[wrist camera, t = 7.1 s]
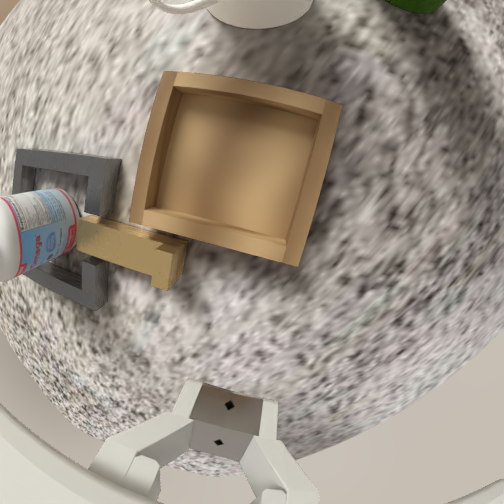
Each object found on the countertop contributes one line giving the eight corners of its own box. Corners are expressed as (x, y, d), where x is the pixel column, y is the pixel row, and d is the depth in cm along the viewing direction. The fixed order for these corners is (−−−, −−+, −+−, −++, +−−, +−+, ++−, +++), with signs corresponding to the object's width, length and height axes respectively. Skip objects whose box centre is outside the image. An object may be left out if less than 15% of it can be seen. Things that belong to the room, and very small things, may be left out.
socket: (121, 159, 18) (107, 158, 16) (107, 301, 22) (95, 311, 20) (30, 148, 18) (17, 148, 16) (25, 263, 22) (13, 268, 20)
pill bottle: (62, 264, 21) (-24, 312, 10) (34, 214, 20) (-53, 242, 9) (93, 227, 20) (-12, 269, 9) (62, 172, 19) (-41, 187, 8)
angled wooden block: (188, 241, 19) (172, 253, 16) (182, 274, 20) (167, 291, 17) (91, 214, 19) (67, 221, 16) (89, 244, 20) (66, 254, 17)
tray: (332, 115, 16) (342, 104, 13) (294, 252, 19) (298, 266, 16) (179, 84, 16) (163, 71, 13) (148, 214, 19) (129, 221, 16)
